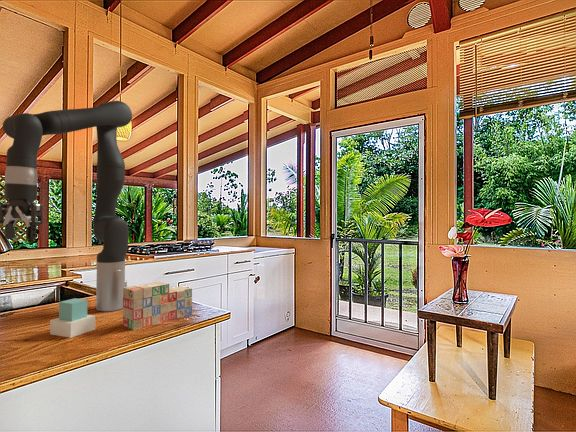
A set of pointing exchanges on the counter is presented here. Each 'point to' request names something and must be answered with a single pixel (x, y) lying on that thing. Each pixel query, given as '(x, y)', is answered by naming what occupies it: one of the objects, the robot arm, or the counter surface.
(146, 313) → the stack of blocks
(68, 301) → the teal cube
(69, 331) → the white square block
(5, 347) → the counter surface
